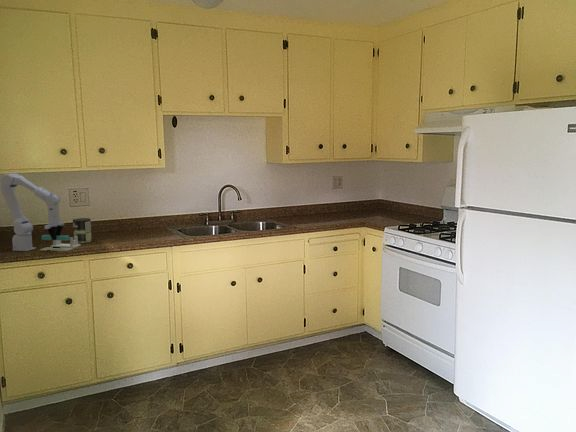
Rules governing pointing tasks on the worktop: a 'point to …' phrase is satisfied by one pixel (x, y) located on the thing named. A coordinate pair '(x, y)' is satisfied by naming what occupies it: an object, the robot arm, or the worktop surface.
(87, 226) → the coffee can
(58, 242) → the stand
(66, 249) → the mat
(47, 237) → the rail
